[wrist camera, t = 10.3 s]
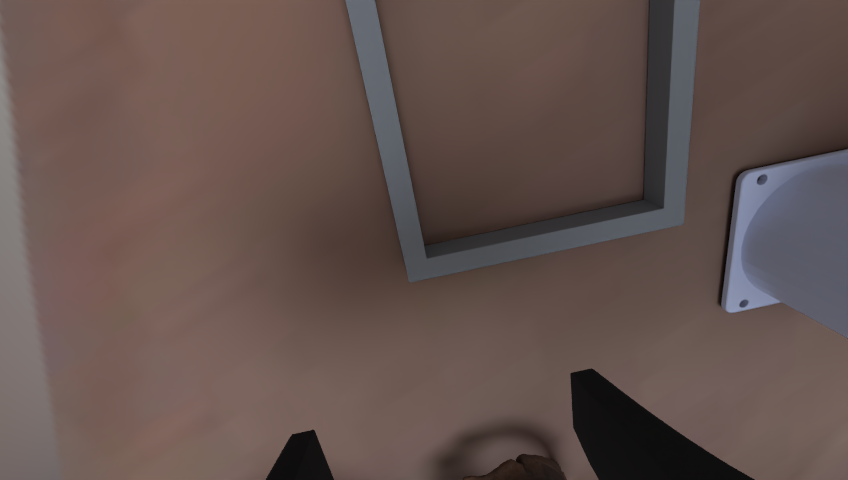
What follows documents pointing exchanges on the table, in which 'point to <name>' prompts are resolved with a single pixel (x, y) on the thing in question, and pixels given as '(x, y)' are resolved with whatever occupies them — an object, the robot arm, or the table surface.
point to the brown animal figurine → (524, 470)
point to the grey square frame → (659, 210)
